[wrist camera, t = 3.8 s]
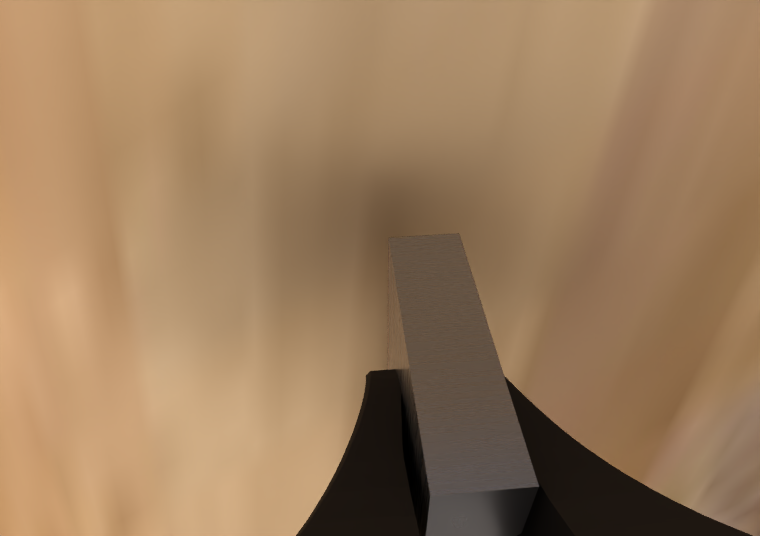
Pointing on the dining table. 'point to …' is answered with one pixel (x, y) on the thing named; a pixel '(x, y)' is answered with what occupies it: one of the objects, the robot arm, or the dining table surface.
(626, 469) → the dining table surface
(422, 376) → the steel block
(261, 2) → the dining table surface
